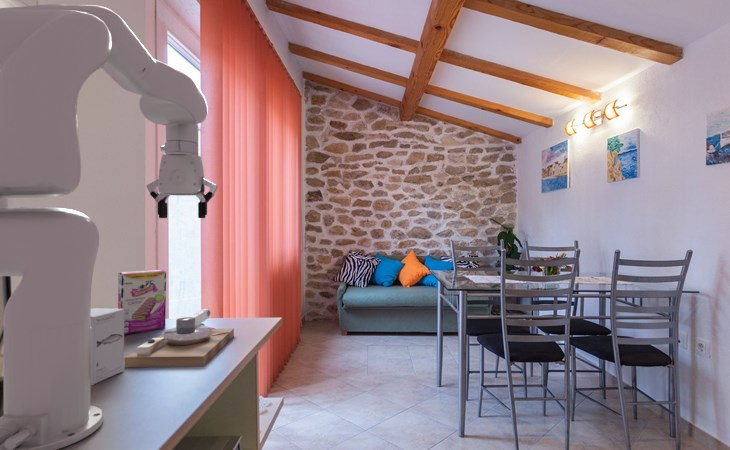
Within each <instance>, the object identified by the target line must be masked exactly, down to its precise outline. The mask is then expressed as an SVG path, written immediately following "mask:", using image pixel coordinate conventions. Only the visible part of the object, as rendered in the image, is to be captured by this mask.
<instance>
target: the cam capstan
mask: <svg viewBox="0 0 730 450" xmlns="http://www.w3.org/2000/svg"><path fill="white" fill-rule="evenodd" d="M210 315H211V311H210V309H209V308H202V309H200V310H198V311H197V312H195V313H193V314H192V315H190V316H188V317H187V316H185V317H180V318H177V319H176V321H175V322H176V323H175V324H176V325H175V326H176V327H172V328H170V329H167V330H165V331H164V333H163V334H164V342H165V343H166V344H169V345H190V344H196V343H200V342H203V341H206V340H208V339H209V338H210V329H211V327H210V326H207V325H205V324H204V325H201V324H202V323H203V322H205V321H206V320H208V319H210V318H209V317H210Z"/></svg>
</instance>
